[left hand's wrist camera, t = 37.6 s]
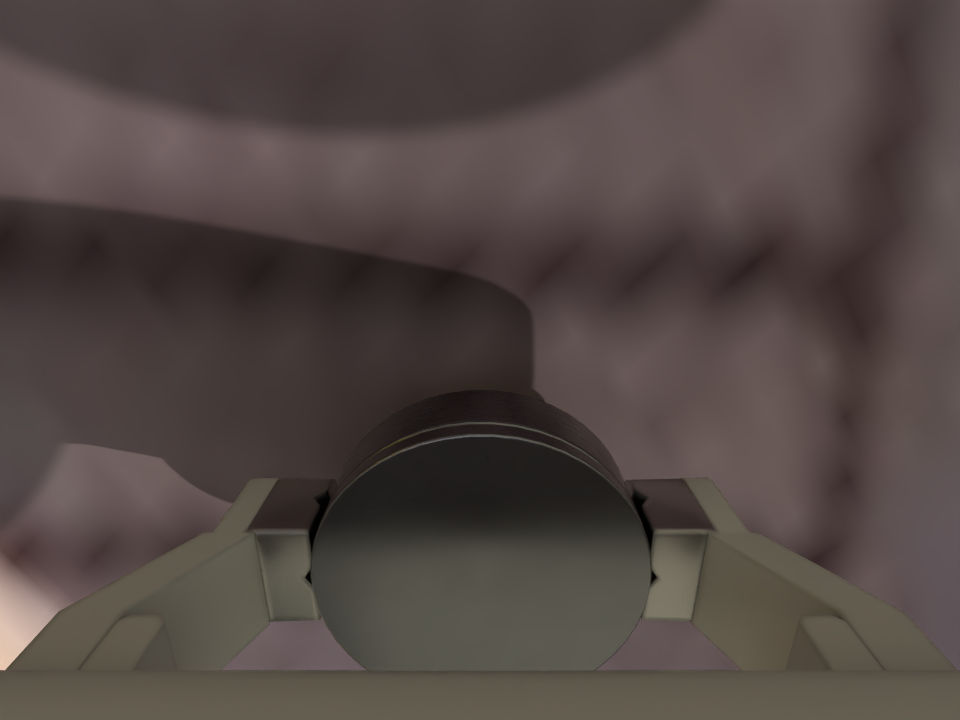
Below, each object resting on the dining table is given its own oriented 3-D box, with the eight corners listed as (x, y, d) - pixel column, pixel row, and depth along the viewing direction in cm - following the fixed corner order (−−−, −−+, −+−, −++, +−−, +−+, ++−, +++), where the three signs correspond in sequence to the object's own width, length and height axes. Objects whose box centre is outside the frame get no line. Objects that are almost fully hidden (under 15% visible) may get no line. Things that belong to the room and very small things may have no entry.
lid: (378, 648, 11) (362, 724, 10) (295, 418, 9) (261, 469, 8) (640, 609, 11) (665, 682, 9) (610, 361, 9) (635, 403, 7)
